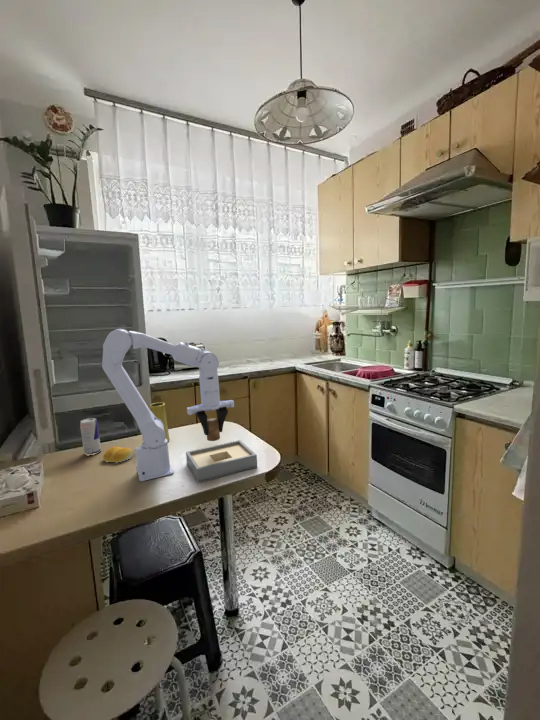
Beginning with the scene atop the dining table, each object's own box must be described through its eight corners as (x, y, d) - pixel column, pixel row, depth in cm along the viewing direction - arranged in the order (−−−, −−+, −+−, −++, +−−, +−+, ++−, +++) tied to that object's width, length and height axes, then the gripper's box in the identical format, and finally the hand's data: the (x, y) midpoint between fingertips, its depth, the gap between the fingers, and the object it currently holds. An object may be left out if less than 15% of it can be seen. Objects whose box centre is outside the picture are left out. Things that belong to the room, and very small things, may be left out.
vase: (152, 439, 135) (148, 403, 133) (169, 437, 136) (165, 401, 134) (152, 445, 129) (148, 407, 127) (170, 442, 131) (166, 405, 128)
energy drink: (104, 450, 127) (100, 417, 125) (95, 456, 122) (91, 422, 120) (90, 450, 128) (85, 417, 126) (80, 456, 122) (76, 422, 121)
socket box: (198, 482, 99) (197, 469, 99) (187, 463, 112) (185, 451, 111) (257, 467, 107) (256, 454, 106) (240, 451, 120) (239, 440, 119)
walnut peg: (209, 441, 109) (207, 423, 108) (205, 438, 113) (203, 419, 112) (221, 439, 111) (220, 420, 110) (217, 435, 115) (216, 417, 114)
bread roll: (122, 465, 114) (121, 453, 114) (99, 463, 117) (97, 451, 116) (138, 454, 122) (137, 443, 121) (116, 452, 124) (115, 442, 124)
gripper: (189, 396, 103) (193, 441, 105) (236, 389, 109) (239, 431, 111) (183, 392, 109) (187, 434, 111) (228, 385, 115) (231, 425, 117)
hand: (213, 432), depth 111 cm, fingers closed on walnut peg, 4 cm apart
